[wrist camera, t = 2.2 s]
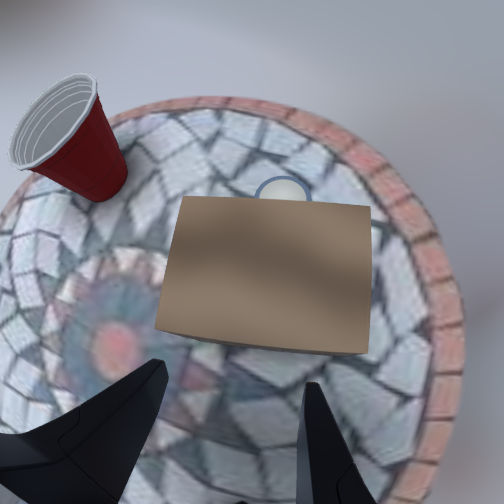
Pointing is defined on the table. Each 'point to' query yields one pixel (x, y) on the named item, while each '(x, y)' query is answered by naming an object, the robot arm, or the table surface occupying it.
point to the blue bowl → (283, 189)
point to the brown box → (270, 275)
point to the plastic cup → (70, 140)
